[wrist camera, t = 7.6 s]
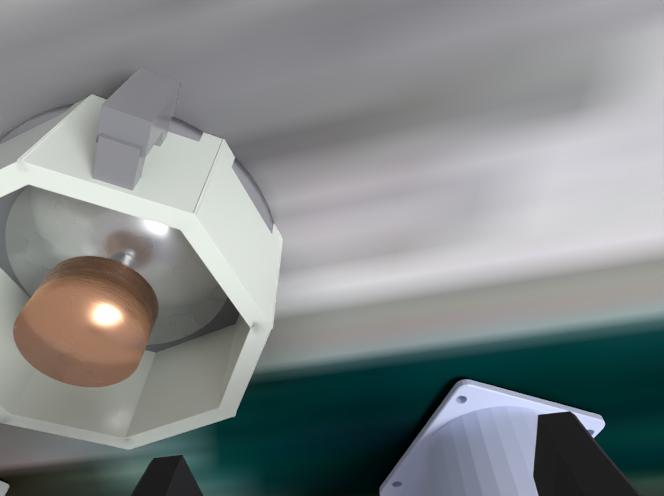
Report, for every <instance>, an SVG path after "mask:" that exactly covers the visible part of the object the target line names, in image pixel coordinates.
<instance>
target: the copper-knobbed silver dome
mask: <svg viewBox="0 0 664 496" xmlns="http://www.w3.org/2000/svg"><path fill="white" fill-rule="evenodd" d="M5 244H6V250H7V255H8V258H9V261H10V264H11V266H12V269H13V271H14V273H15V275H16V276H17V278H18V280H19V281H20V283H21V284H22V286H23V287H24V289H25V290H26V291H27V292H28V294H29V295H30V296H31V298H30V300H29V301H28V302H27V304H26V305H25V307H24V308H23V309H22V311H21V312H20V314H19V315H18V317H17V318H16V321H15V323H14V328H13V335H14V340H15V343H16V346H17V348H18V350H19V351H20V353H21V354H22V356H23V357H24V358H25V359H26V360H27V361H28V362H29V363H30V364H31V365H32V366H33V367H34V368H36V369H37V370H38V371H40V372H41V373H43V374H45V375H47V376H48V377H50V378H53V379H55V380H57V381H60V382H63V383H66V384H70V385H74V386H80V387H105V386H110V385H113V384H117V383H119V382H121V381H123V380H125V379H127V378H128V377H129V376H131V375H132V374H133V373H134V372H135V370H136V369H137V367H138V366H139V363H140V361H141V358H142V355H143V353H144V350H145V348H146V345H151V344H161V343H166V342H171V341H175V340H178V339H181V338H184V337H186V336H188V335H191V334H193V333H195V332H196V331H198V330H200V329H201V328H203V327H204V326H205V325H207V324H208V323H209V322H210V321H211V320H212V319H213V318H214V317H215V316H216V315H217V314H218V313H219V311H220V310H221V308H222V307H223V305H224V304H225V301H226V299H227V297H228V296H227V294H226V293H225V292H224V290H223V289H222V287H221V286H220V285H219V283H218V282H217V280H216V279H215V278H214V276H213V275H212V273H211V272H210V271H209V269H208V268H207V266H206V265H205V264H204V262H203V261H202V259H201V258H200V257H199V255H198V254H197V252H196V251H195V250H194V248H193V247H192V245H191V244H190V243H189V241H188V240H187V238H186V237H185V236H184V234H183V233H182V231H181V230H179V229H176V228H172V227H169V226H166V225H162V224H159V223H156V222H152V221H149V220H146V219H142V218H139V217H136V216H132V215H129V214H126V213H122V212H119V211H116V210H112V209H109V208H106V207H102V206H99V205H96V204H92V203H89V202H86V201H82V200H79V199H76V198H72V197H69V196H66V195H62V194H59V193H56V192H52V191H49V190H46V189H42V188H39V187H35V186H32V185H28V186H27V187H26V188H25V189H24V191H23V192H22V193H21V194H20V195H19V196H18V198H17V199H16V201H15V202H14V204H13V206H12V208H11V210H10V212H9V215H8V218H7V222H6V229H5Z"/></svg>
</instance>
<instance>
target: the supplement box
mask: <svg viewBox="0 0 664 496" xmlns="http://www.w3.org/2000/svg"><path fill="white" fill-rule="evenodd" d="M8 488H9V484H7V483H5V482H2V481H0V496H4V495H5V494H6V492H7V490H8Z"/></svg>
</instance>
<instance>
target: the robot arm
mask: <svg viewBox="0 0 664 496" xmlns="http://www.w3.org/2000/svg"><path fill="white" fill-rule="evenodd" d="M459 396H461V397H459ZM604 426H605V422H604V420H603V418H602V416H600V415H598V414H595V413H591V412H587V411H584V410H580V409H576V408H573V407H569V406H565V405H562V404H558V403H554V402H551V401H547V400H543V399H540V398H536V397H532V396H528V395H525V394H521V393H517V392H514V391H510V390H506V389H503V388H499V387H495V386H492V385H488V384H484V383H481V382H477V381H473V380H469V379H464V380H460V381H458V382H457V383H456V384H455V385H454V387H453V388H452V389H451V391H450V392H449V393H448V395H447V396H446V397H445V399H444V400H443V402H442V403H441V404H440V406H439V407H438V408H437V410H436V411H435V412H434V414H433V415H432V417H431V418H430V419H429V421H428V422H427V423H426V425H425V426H424V427H423V429H422V430H421V432H420V433H419V434H418V436H417V437H416V438H415V440H414V441H413V442H412V444H411V445H410V447H409V448H408V449H407V451H406V452H405V453H404V455H403V456H402V458H401V459H400V460H399V462H398V463H397V464H396V466H395V467H394V468H393V470H392V471H391V473H390V474H389V475H388V477H387V478H386V479H385V481H384V482H383V483H382V485H381V486H380V488H379V492H380V496H642V495H641V494H640V493H639V491H638V490H637V489H636V488H635V487H634V486H633V485H632V484H631V482H630V481H629V480H628V479H627V478H626V477H625V475H624V474H623V473H622V472H621V471H620V470H619V468H618V467H617V466H616V465H615V464H614V462H613V461H612V460H611V459H610V458H609V457H608V455H607V454H606V453H605V452H604V450H603V449H602V448H601V447H600V446H599V444H598V443H597V442H596V441H595V439H594V437H595V436H596V435H597V434H598V433H599V432H600V431H601V430H602V429H603V428H604ZM131 496H203V494H202V492H201V491H200V489H199V487H198V485H197V483H196V481H195V479H194V477H193V475H192V473H191V471H190V469H189V467H188V465H187V463H186V461H185V459H184V457H183V455H178V456H169V457H161V458H154V459H153V460H152V461H151V462H150V464H149V466H148V467H147V469H146V471H145V472H144V474H143V476H142V478H141V479H140V481H139V483H138V484H137V486H136V488H135V489H134V491H133V493H132V494H131Z"/></svg>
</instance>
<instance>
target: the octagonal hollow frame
mask: <svg viewBox="0 0 664 496" xmlns="http://www.w3.org/2000/svg"><path fill="white" fill-rule="evenodd" d="M180 87H181V82H178V81H176V80H173V79H170V78H167V77H164V76H162V75H159V74H156V73H153V72H150V71H148V70H145V69H142V68H139V69H138V70H137V71H136V72H135V73H134V74H133V75H132V76H131V77H130V78H129V79H128V80H127V81H126V82H125V83H123V84H122V85H121V86H120V87H119V88H118V89H117V90H116V91H115V92H114V93H113V94H112V95H111V96H110V97H109V98H108V99H104V98H101V97H98V96H95V95H94V94H93V95H92V94H91V95H90V96H89V97H87V98H85V99H83V100H81V101H79V102H77V103H75V104H71V105H66V106H62V107H58V108H54V109H51V110H49V111H46V112H44V113H41V114H39V115H36V116H34V117H33V118H31V119H29V120H28V121H26V122H24V123H23V124H21V125H20V126H18V127H17V128H16V129H14V130H13V131H12V132H10V133H9V134H8V135H7V136H5V137H4V138H3V139H2V140H1V141H0V423H2V424H8V425H13V426H18V427H23V428H27V429H32V430H37V431H42V432H47V433H51V434H56V435H61V436H66V437H71V438H75V439H80V440H85V441H90V442H95V443H99V444H104V445H109V446H114V447H118V448H123V449H128V450H131V449H133V448H136V447H139V446H143V445H146V444H149V443H152V442H155V441H158V440H161V439H165V438H168V437H171V436H174V435H177V434H180V433H183V432H187V431H190V430H193V429H196V428H199V427H202V426H205V425H208V424H212V423H215V422H218V421H221V420H224V419H227V418H230V417H234V416H236V411H237V409H238V406H239V404H240V402H241V399H242V397H243V395H244V392H245V390H246V388H247V385H248V383H249V381H250V378H251V376H252V374H253V371H254V369H255V367H256V364H257V362H258V359H259V357H260V355H261V352H262V350H263V348H264V345H265V343H266V341H267V338H268V336H269V334H270V331H271V329H273V323H274V314H275V305H276V297H277V288H278V279H279V270H280V262H281V253H282V244H283V237H282V236H281V234H280V232H279V231H278V229H277V227H276V226H275V224H274V221H273V218H272V215H271V212H270V209H269V206H268V204H267V202H266V200H265V198H264V196H263V194H262V192H261V190H260V188H259V187H258V186H257V184H256V183H255V181H254V180H253V178H252V177H251V175H250V174H249V173H248V171H247V170H246V169H245V168H244V167H243V166H242V165H241V163H240V162H239V161H238V160H237V159H236V158H235V157H234V155H233V153H232V152H231V150H230V148H229V147H228V145H227V143H226V140H224V138H223V139H221V138H218V137H215V136H213V135H210V134H207V133H204V132H202V131H200V130H199V129H197V128H195V127H193V126H191V125H189V124H188V123H186V122H184V121H182V120H179V119H177V118H175V117H173V115H174V113H175V109H176V104H177V100H178V95H179V91H180ZM28 185H32V186H35V187H39V188H42V189H46V190H49V191H52V192H56V193H59V194H62V195H66V196H69V197H72V198H76V199H79V200H82V201H86V202H89V203H92V204H96V205H99V206H102V207H106V208H109V209H112V210H116V211H119V212H122V213H126V214H129V215H132V216H136V217H139V218H142V219H146V220H149V221H152V222H156V223H159V224H162V225H166V226H169V227H172V228H176V229H179V230H181V231H182V233H183V234H184V236H185V237H186V238H187V240H188V241H189V243H190V244H191V245H192V247H193V248H194V250H195V251H196V252H197V254H198V255H199V257H200V258H201V259H202V261H203V262H204V264H205V265H206V266H207V268H208V269H209V271H210V272H211V273H212V275H213V276H214V278H215V279H216V280H217V282H218V283H219V285H220V286H221V287H222V289H223V290H224V292H225V293H226V294H227V296H228V297H227V299H226V301H225V304H224V305H223V307H222V308H221V310H220V311H219V313H218V314H217V315H216V316H215V317H214V318H213V319H212V320H211V321H210V322H209V323H208V324H207V325H205V326H204V327H203V328H201V329H200V330H198V331H196V332H195V333H193V334H191V335H188V336H186V337H184V338H181V339H178V340H175V341H171V342H166V343H161V344H151V345H146V348H145V350H144V353H143V355H142V358H141V361H140V363H139V366H138V367H137V369H136V370H135V372H134V373H133V374H132V375H131V376H129V377H128V378H127V379H125V380H123V381H121V382H119V383H117V384H113V385H110V386H105V387H80V386H74V385H70V384H66V383H63V382H60V381H57V380H55V379H53V378H50V377H48V376H47V375H45V374H43V373H41V372H40V371H38V370H37V369H36V368H34V367H33V366H32V365H31V364H30V363H29V362H28V361H27V360H26V359H25V358H24V357H23V356H22V354H21V353H20V351H19V350H18V348H17V346H16V343H15V340H14V335H13V328H14V323H15V321H16V318H17V317H18V315H19V314H20V312H21V311H22V309H23V308H24V307H25V305H26V304H27V302H28V301H29V300H30V298H31V296H30V295H29V294H28V292H27V291H26V290H25V289H24V287H23V286H22V284H21V283H20V281H19V280H18V278H17V276H16V275H15V273H14V271H13V269H12V266H11V264H10V261H9V258H8V255H7V250H6V244H5V229H6V222H7V218H8V215H9V212H10V210H11V208H12V206H13V204H14V202H15V201H16V199H17V198H18V196H19V195H20V194H21V193H22V192H23V191H24V189H25V188H26V187H27V186H28Z"/></svg>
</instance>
